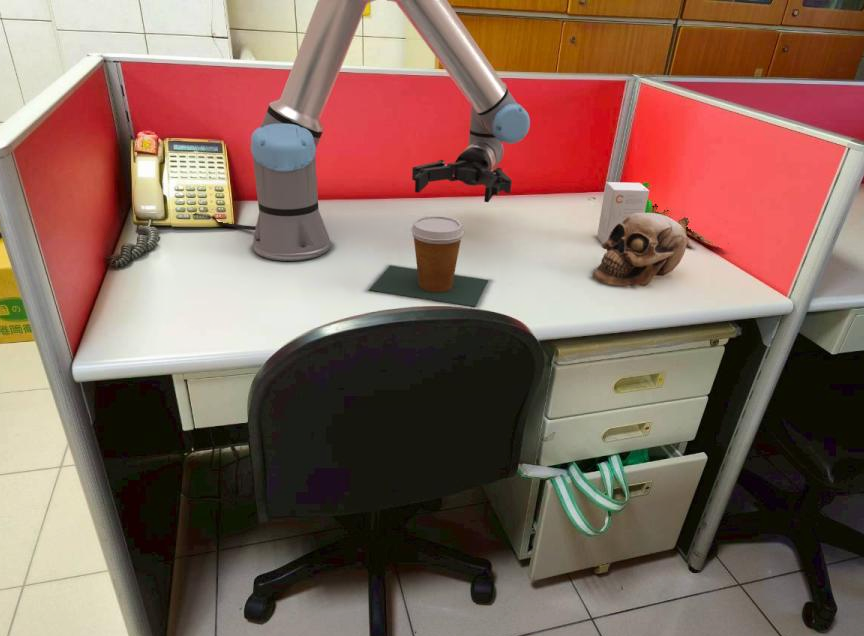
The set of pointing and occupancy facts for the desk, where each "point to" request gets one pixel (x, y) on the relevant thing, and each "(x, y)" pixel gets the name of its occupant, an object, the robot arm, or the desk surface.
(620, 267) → the beige brown skull
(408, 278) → the desk mat
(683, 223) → the brown jagged long piece
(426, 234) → the disposable coffee cup
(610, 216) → the small box
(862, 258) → the desk surface
